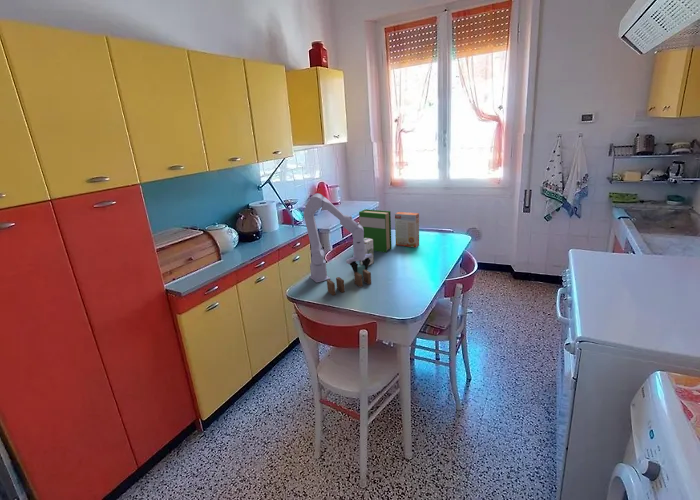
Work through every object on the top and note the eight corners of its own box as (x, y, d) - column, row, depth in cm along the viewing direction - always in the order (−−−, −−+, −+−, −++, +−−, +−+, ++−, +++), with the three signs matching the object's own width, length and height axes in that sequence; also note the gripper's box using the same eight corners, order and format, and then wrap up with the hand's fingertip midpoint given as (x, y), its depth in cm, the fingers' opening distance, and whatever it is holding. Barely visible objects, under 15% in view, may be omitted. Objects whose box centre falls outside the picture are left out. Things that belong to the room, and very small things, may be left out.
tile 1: (332, 295, 171) (331, 284, 169) (327, 291, 176) (326, 280, 174) (335, 294, 172) (334, 283, 170) (330, 290, 176) (329, 279, 174)
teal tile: (355, 277, 189) (355, 266, 187) (364, 275, 192) (363, 264, 190) (357, 278, 188) (356, 267, 186) (365, 276, 190) (365, 265, 188)
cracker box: (419, 245, 230) (419, 212, 223) (416, 248, 225) (415, 215, 218) (399, 242, 237) (398, 211, 230) (395, 245, 233) (394, 213, 226)
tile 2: (341, 292, 174) (340, 281, 172) (337, 289, 178) (336, 277, 176) (344, 291, 174) (343, 280, 172) (339, 288, 178) (338, 276, 176)
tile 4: (368, 284, 180) (367, 273, 178) (363, 281, 184) (362, 270, 182) (371, 283, 181) (370, 272, 179) (366, 280, 185) (365, 269, 183)
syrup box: (365, 261, 210) (364, 237, 205) (374, 263, 206) (373, 238, 201) (359, 264, 206) (358, 240, 201) (368, 266, 202) (366, 241, 197)
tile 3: (359, 287, 178) (359, 275, 176) (354, 283, 182) (354, 272, 180) (362, 286, 179) (362, 275, 177) (357, 282, 183) (356, 271, 181)
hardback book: (391, 248, 227) (390, 211, 219) (386, 252, 221) (384, 214, 213) (367, 245, 236) (365, 209, 228) (361, 249, 231) (358, 212, 223)
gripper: (350, 254, 178) (352, 279, 183) (375, 247, 184) (376, 272, 189) (343, 250, 184) (345, 275, 188) (367, 244, 190) (369, 268, 195)
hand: (360, 273), depth 189 cm, fingers closed on teal tile, 5 cm apart
